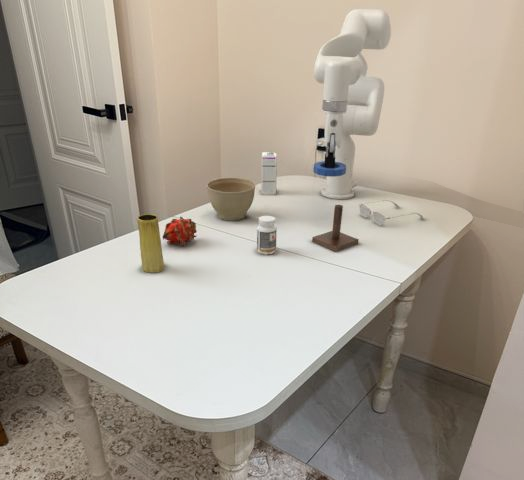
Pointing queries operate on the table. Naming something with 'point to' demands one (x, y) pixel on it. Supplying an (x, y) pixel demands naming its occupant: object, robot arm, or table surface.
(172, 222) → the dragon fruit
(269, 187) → the syrup box
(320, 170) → the blue ring
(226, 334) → the table surface
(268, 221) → the pill bottle
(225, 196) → the planter bowl
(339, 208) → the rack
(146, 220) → the vase
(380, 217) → the eyeglasses
